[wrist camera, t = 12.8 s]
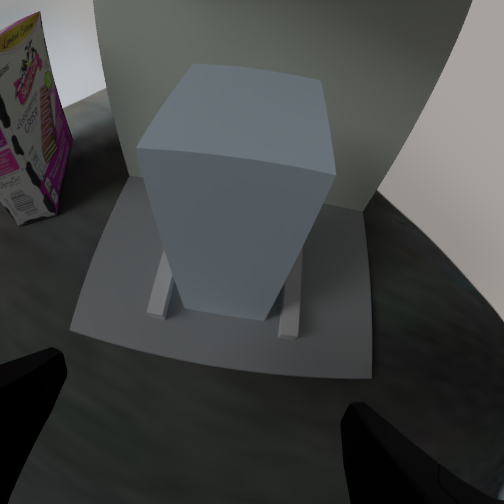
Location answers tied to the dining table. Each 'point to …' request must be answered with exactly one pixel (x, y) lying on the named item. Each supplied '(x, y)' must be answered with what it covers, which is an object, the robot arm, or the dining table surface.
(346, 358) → the white open shelf
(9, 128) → the candy bar box
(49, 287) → the dining table surface
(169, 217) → the tall gray box
